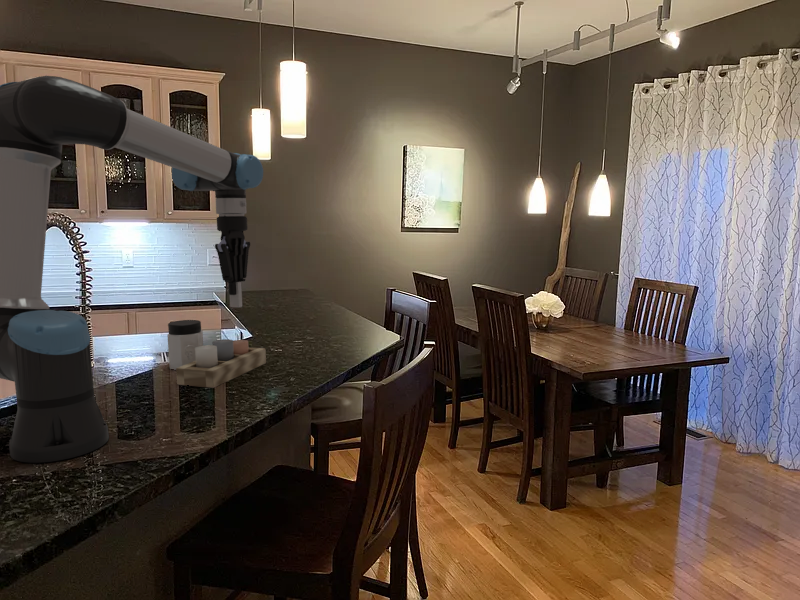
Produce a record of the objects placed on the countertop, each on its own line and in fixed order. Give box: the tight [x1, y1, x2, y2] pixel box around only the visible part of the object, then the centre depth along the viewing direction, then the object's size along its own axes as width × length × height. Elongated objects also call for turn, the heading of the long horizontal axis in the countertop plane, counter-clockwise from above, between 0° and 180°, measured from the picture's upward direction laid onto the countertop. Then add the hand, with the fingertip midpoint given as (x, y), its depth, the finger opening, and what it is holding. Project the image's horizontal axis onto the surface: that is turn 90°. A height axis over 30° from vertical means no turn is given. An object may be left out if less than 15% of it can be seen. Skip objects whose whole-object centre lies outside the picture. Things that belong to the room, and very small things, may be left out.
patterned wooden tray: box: [175, 346, 267, 389], centre depth 153 cm, size 24×10×4 cm, turn 163°
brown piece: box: [233, 339, 249, 355], centre depth 159 cm, size 5×5×5 cm
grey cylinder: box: [211, 338, 234, 361], centre depth 152 cm, size 5×5×5 cm
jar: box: [167, 319, 204, 371], centre depth 159 cm, size 9×8×12 cm
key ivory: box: [195, 344, 218, 368], centre depth 146 cm, size 5×5×5 cm
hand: (236, 306), depth 157 cm, fingers closed
